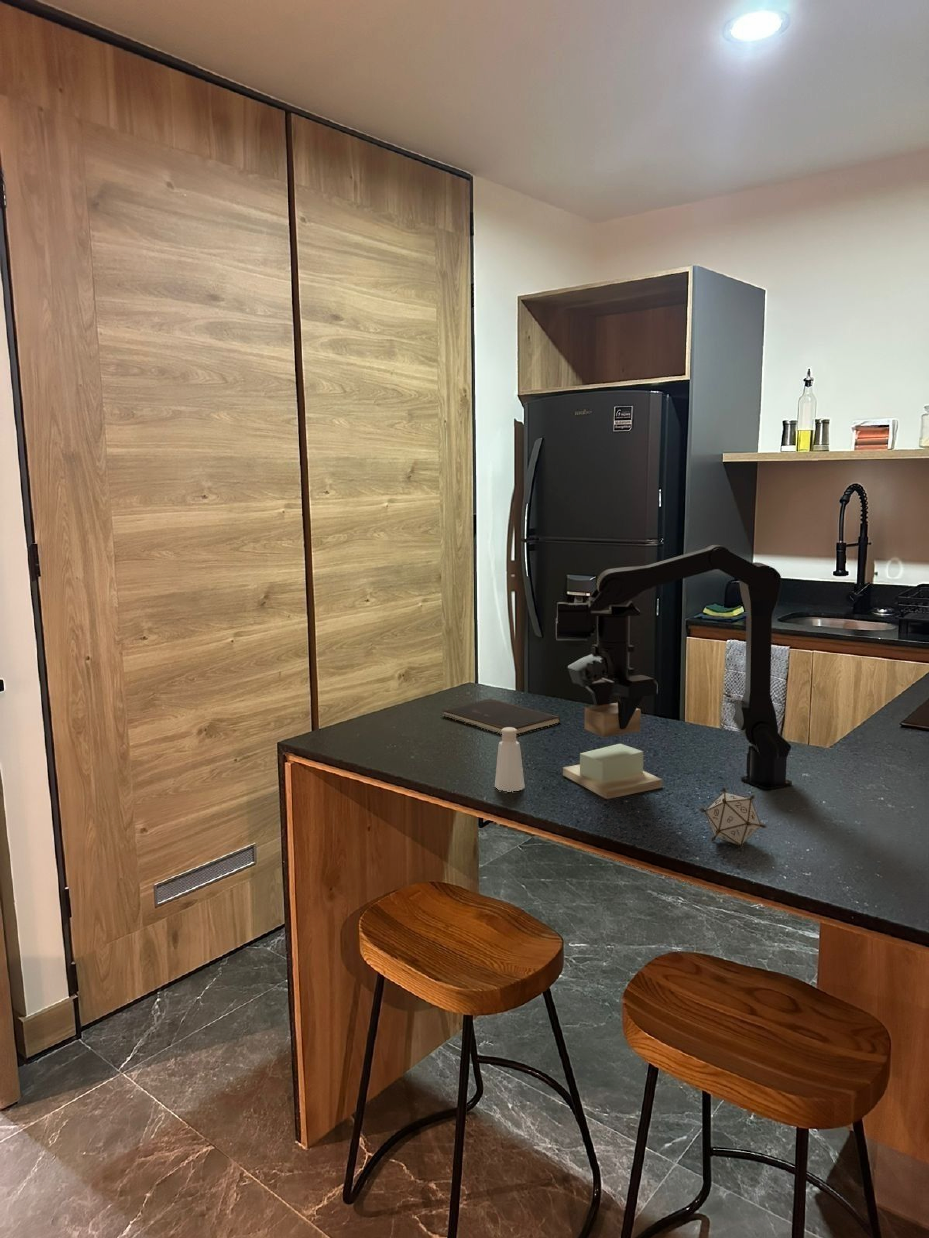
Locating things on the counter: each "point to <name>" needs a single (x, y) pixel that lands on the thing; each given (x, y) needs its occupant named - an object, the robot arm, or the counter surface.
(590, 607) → the robot arm
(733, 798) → the game die
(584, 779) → the birch board
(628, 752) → the green block
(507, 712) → the hardcover book
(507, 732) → the salt shaker
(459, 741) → the counter surface
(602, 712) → the walnut block
